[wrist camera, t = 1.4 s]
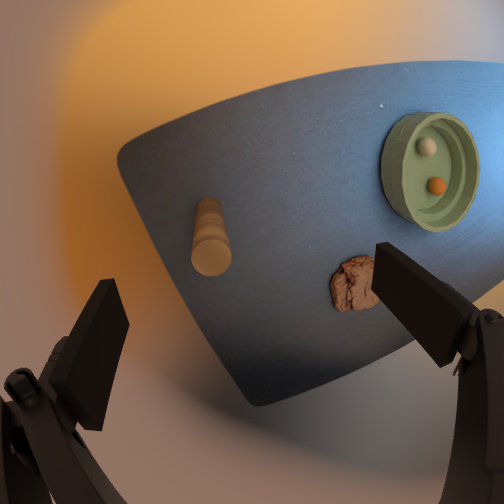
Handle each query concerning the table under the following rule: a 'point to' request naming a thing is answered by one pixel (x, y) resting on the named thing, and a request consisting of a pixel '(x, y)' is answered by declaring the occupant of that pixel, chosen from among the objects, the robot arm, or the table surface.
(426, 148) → the cream ball
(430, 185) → the orange ball
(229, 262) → the stick
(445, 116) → the bowl
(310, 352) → the table surface
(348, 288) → the cookie
